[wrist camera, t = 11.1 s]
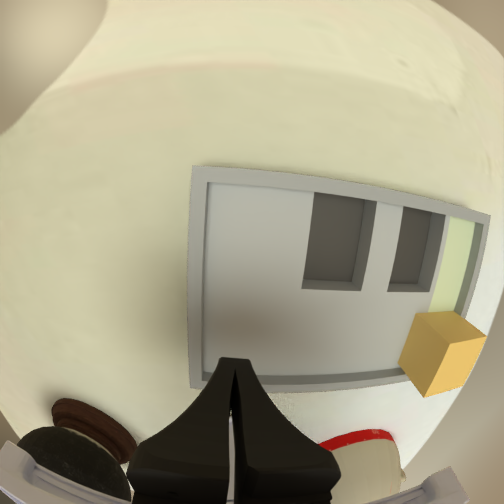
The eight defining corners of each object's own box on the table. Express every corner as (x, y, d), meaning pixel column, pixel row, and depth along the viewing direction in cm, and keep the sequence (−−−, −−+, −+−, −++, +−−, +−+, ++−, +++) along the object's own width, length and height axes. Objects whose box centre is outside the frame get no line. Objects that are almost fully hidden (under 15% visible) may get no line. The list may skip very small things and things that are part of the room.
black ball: (115, 468, 25) (92, 548, 10) (38, 411, 22) (-8, 486, 7) (167, 447, 23) (146, 561, 8) (66, 374, 20) (-4, 482, 5)
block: (435, 356, 18) (462, 385, 14) (397, 362, 18) (423, 397, 14) (453, 310, 17) (486, 336, 13) (415, 313, 17) (450, 343, 13)
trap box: (425, 356, 21) (441, 373, 18) (195, 362, 19) (190, 388, 17) (466, 209, 17) (490, 215, 14) (201, 167, 16) (192, 165, 13)
